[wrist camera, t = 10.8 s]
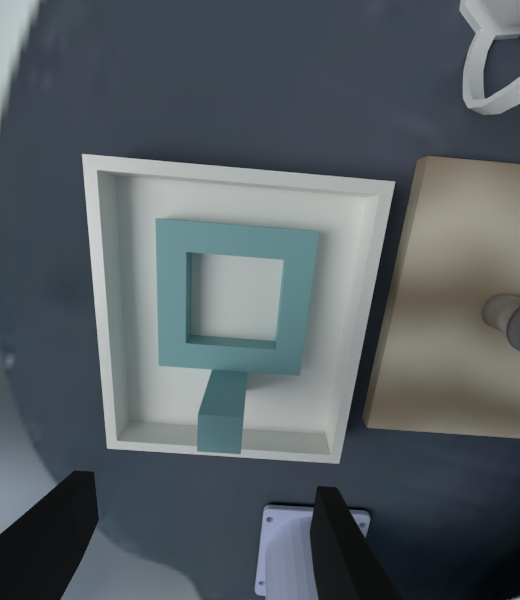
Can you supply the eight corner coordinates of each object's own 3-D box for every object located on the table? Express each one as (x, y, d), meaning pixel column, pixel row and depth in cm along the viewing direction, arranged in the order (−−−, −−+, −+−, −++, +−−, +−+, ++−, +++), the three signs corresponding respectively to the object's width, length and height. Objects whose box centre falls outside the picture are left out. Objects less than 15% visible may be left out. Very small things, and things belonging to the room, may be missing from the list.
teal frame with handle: (293, 393, 18) (305, 458, 13) (165, 384, 18) (130, 447, 13) (314, 230, 15) (340, 237, 10) (163, 218, 15) (117, 218, 10)
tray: (329, 433, 20) (339, 463, 17) (126, 419, 19) (107, 448, 17) (373, 187, 15) (395, 181, 13) (110, 164, 15) (82, 154, 12)
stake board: (533, 429, 20) (593, 474, 16) (361, 417, 19) (384, 461, 16) (639, 179, 15) (751, 168, 12) (417, 159, 15) (465, 142, 11)
